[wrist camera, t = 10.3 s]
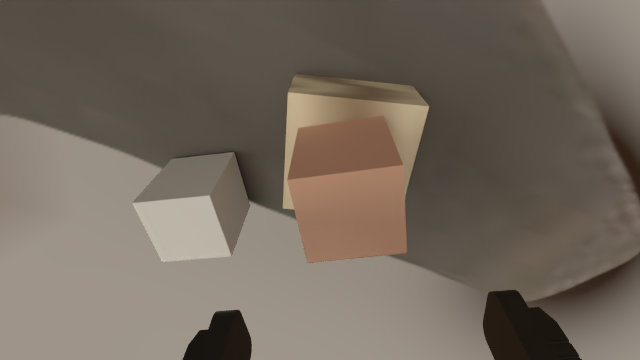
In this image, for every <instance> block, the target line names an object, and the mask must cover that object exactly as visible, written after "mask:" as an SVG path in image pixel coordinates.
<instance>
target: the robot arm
mask: <svg viewBox="0 0 640 360" xmlns="http://www.w3.org/2000/svg"><path fill="white" fill-rule="evenodd" d="M483 330H484V334H485V338H486V341H487V343H488V346H489V348H490V350H491V352H492V355H493V357H494V359H495V360H582V359H580V358H579V355H578V353H577V352H576V350H575V349H574V347H573V346H572V344H570V343H569V340H568V338H567V337H566V335H565V334H564V332H563V331H562V329H561V328H560V326H559V325H558V323H557V322H556V321H555V320H554V319H552V318H551V317H550V316H549V315H548V314H547V313H545V312H544V311H543V310H542V309H540V308H539V307H534V308H529V307H528V306H527V304H526V303H525V301H524V299H523V298H522V296H521V295H520V293H519V292H518V291H516V290H506V291H493V292H489V293H488V297H487V302H486V308H485V313H484V318H483ZM251 346H252V344H251V337H250V334H249V332H248V329H247V327H246V324H245V322H244V319H243V317H242V314H241V312H240V311H239V310H231V311H217V312H215V314H214V315H213V318H212V320H211V324H210V326H209V329H208V330H200V331H199V332H198V333H197V335H196V336H195V337H194V338H193V340H192V341H191V342H190V344H189V345H188V347H187V350H186V352H185V355H184V358H183V360H250V358H251Z"/></svg>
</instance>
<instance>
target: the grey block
mask: <svg viewBox="0 0 640 360" xmlns="http://www.w3.org/2000/svg"><path fill="white" fill-rule="evenodd" d="M132 204H133V206H134V208H135V210H136V212H137V214H138V216H139V218H140V220H141V222H142V224H143V226H144V228H145V229H146V231H147V233H148V235H149V237H150V239H151V241H152V243H153V245H154V247H155V249H156V251H157V253H158V255H159V257H160V259H161V261H162V262H167V261H180V260H192V259H204V258H216V257H227V256H232V254H233V251H234V248H235V245H236V243H237V240H238V237H239V234H240V231H241V229H242V226H243V223H244V220H245V218H246V215H247V212H248V209H249V207H250V204H249V200H248V197H247V194H246V190H245V187H244V183H243V180H242V177H241V173H240V170H239V166H238V163H237V160H236V156H235V153H234V152H229V153H220V154H211V155H202V156H193V157H184V158H175V159H171V160H170V162H169V163H168V164H167V165H166V166H165V167H164V168H163V169H162V170H161V172H160V173H159V174H158V175H157V176H156V177H155V178H154V179H153V181H152V182H151V183H150V184H149V185H148V186H147V187H146V188H145V189H144V190H143V192H142V193H141V194H140V195H139V196H138V197H137V198H136V199H135V200H134V202H133V203H132Z"/></svg>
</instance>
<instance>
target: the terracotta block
mask: <svg viewBox="0 0 640 360" xmlns="http://www.w3.org/2000/svg"><path fill="white" fill-rule="evenodd" d="M287 182H288V186H289V190H290V194H291V198H292V202H293V206H294V210H295V214H296V218H297V222H298V226H299V230H300V234H301V238H302V242H303V246H304V250H305V254H306V258H307V262H308V263H314V262H324V261H333V260H344V259H353V258H363V257H373V256H383V255H392V254H402V253H407V241H406V216H405V191H404V166H403V163H402V160H401V158H400V155H399V153H398V150H397V148H396V145H395V143H394V140H393V138H392V135H391V133H390V130H389V128H388V125H387V123H386V121H385V118H384V116H376V117H369V118H362V119H356V120H349V121H342V122H335V123H328V124H321V125H314V126H308V127H301V128H298V131H297V136H296V140H295V145H294V150H293V154H292V159H291V164H290V168H289V173H288V178H287Z"/></svg>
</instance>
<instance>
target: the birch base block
mask: <svg viewBox="0 0 640 360" xmlns="http://www.w3.org/2000/svg"><path fill="white" fill-rule="evenodd" d="M428 110H429V106H428V104H427V103H426V102H425V101H424V99H423V98H422V97H421V96H420V94H419V93H418V92H417V91H416V89H415V88H414V87H413V86H410V85H400V84H391V83H381V82H371V81H361V80H352V79H342V78H332V77H323V76H313V75H303V74H295V75H294V78H293V80H292V83H291V86H290V88H289V91H288V102H287V125H286V147H285V169H284V191H283V209H294V206H293V202H292V198H291V194H290V190H289V186H288V182H287V178H288V173H289V168H290V164H291V159H292V154H293V150H294V145H295V140H296V136H297V131H298V128H301V127H308V126H314V125H321V124H328V123H335V122H342V121H349V120H356V119H362V118H369V117H376V116H384V118H385V121H386V123H387V125H388V128H389V130H390V133H391V135H392V138H393V140H394V143H395V145H396V148H397V150H398V153H399V155H400V158H401V160H402V163H403V166H404V191H405V194H406V191H407V187H408V183H409V180H410V176H411V172H412V169H413V165H414V161H415V158H416V154H417V150H418V147H419V143H420V139H421V136H422V132H423V128H424V124H425V121H426V117H427V113H428Z"/></svg>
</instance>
